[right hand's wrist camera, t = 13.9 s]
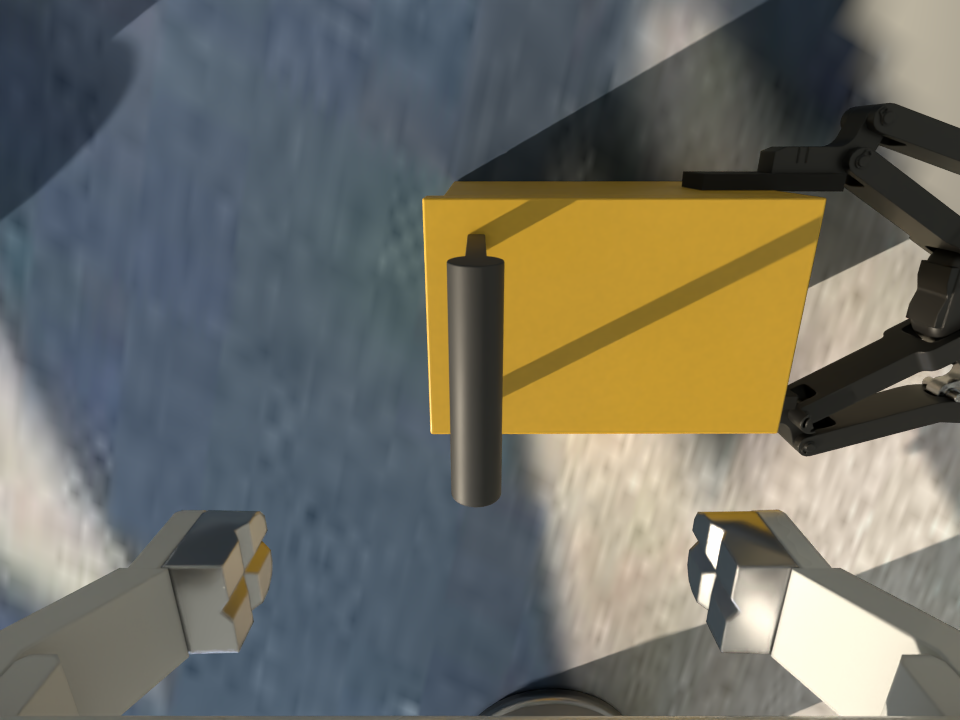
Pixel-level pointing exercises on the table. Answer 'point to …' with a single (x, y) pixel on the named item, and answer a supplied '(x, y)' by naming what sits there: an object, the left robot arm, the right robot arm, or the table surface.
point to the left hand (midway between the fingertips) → (677, 294)
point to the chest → (593, 189)
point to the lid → (609, 317)
